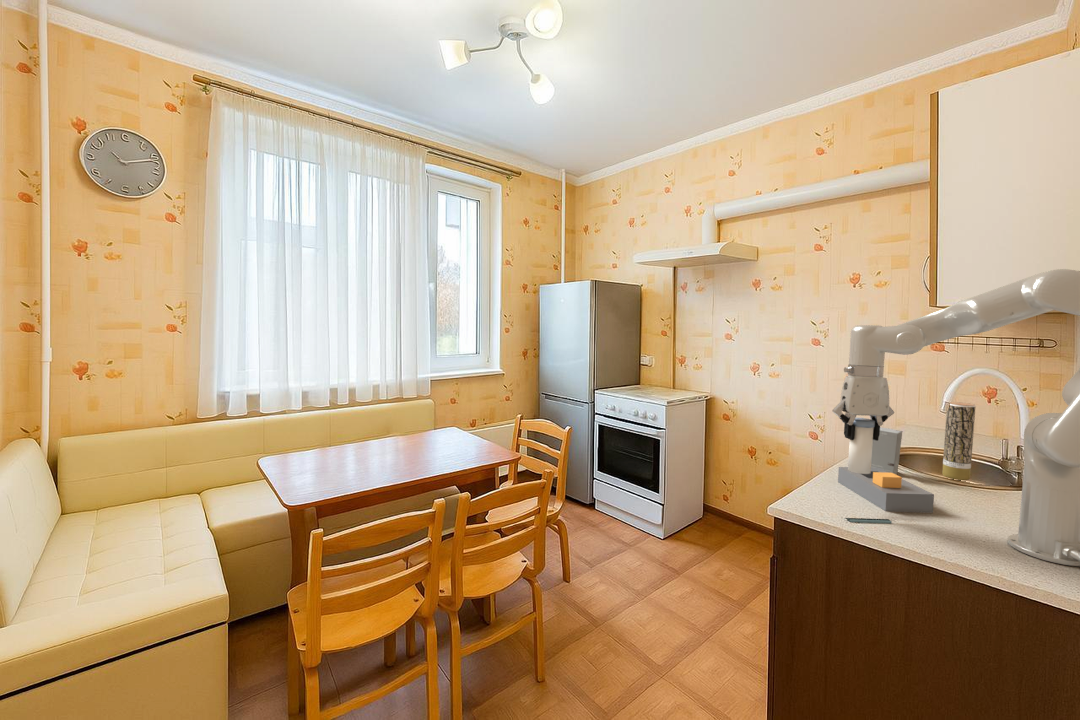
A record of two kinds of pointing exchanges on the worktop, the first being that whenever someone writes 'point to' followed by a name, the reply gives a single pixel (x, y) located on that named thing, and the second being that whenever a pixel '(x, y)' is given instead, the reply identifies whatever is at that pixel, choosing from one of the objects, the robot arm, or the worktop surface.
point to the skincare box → (887, 450)
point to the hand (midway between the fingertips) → (861, 438)
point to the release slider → (887, 480)
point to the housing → (887, 492)
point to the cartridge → (861, 446)
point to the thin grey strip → (869, 520)
